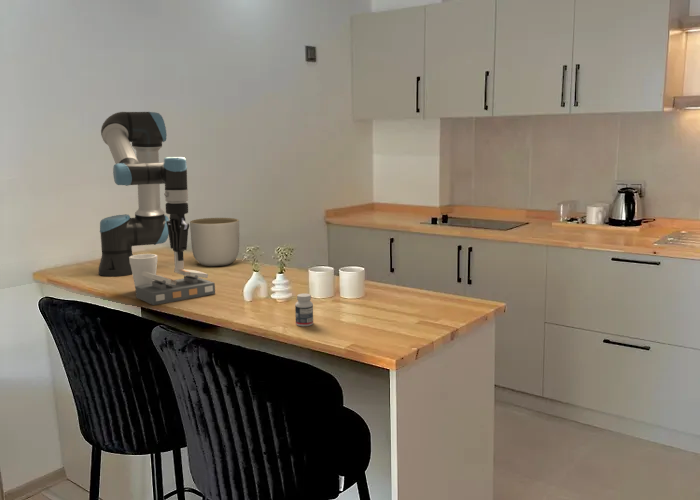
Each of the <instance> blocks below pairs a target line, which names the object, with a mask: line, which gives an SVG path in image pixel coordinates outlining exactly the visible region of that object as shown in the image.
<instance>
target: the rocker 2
mask: <svg viewBox="0 0 700 500" xmlns="http://www.w3.org/2000/svg"><path fill="white" fill-rule="evenodd" d="M173 273H175V274H178V275H181V276H183V277H184V276H190V277H193V278H196V279H197V278H198V277H199V278H202V279H208V276H209V274H208V273H205V272H203V271H199V270H193V269H185V268H184V270H175V268H174V270H173Z"/></svg>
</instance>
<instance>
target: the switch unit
mask: <svg viewBox="0 0 700 500" xmlns="http://www.w3.org/2000/svg"><path fill="white" fill-rule="evenodd" d="M174 280H175V281H177V282H176V285H173V284H169V283H165V284H163V283H160V282H157V281H152V284H146V285H140V286H135V285H134V288H135V298H136V299H139V300H141V301H142V302H145V303H147V304H149V305H152V306H156V305H161V304H162V305H163V304H168V303H172V302H179V301H184V300H189V299H196V298H199V297H200V298H201V297H207V296H211V295H215V294H216V283H215V282H213V281H210V280H208V279H206V278H203V277H198V278H197V279H196V278H193V277H190V276H184V275H183V278H179V279H174Z"/></svg>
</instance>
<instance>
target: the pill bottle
mask: <svg viewBox="0 0 700 500" xmlns="http://www.w3.org/2000/svg"><path fill="white" fill-rule="evenodd" d="M296 296H297V297H296V300H297V301H296V302H295V307H294V308H295V309H294V311H295V326H298V327H309V326H312V325H313V324H314V303H313V302H312V296H311V294H310V293H298V294H297V295H296Z"/></svg>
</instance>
